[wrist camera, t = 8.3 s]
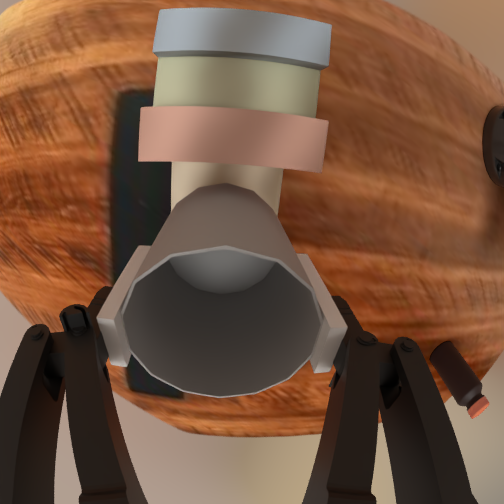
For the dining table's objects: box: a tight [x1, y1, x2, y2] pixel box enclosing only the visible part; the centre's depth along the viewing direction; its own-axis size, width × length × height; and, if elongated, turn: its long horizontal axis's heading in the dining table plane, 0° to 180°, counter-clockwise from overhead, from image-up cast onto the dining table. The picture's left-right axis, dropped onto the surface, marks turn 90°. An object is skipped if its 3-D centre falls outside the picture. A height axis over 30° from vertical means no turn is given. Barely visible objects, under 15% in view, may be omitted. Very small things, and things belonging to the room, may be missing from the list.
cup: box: [121, 183, 323, 398], centre depth 15 cm, size 8×8×10 cm
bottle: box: [430, 341, 489, 419], centre depth 42 cm, size 7×7×20 cm
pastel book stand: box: [139, 8, 332, 216], centre depth 22 cm, size 12×24×17 cm, turn 174°
